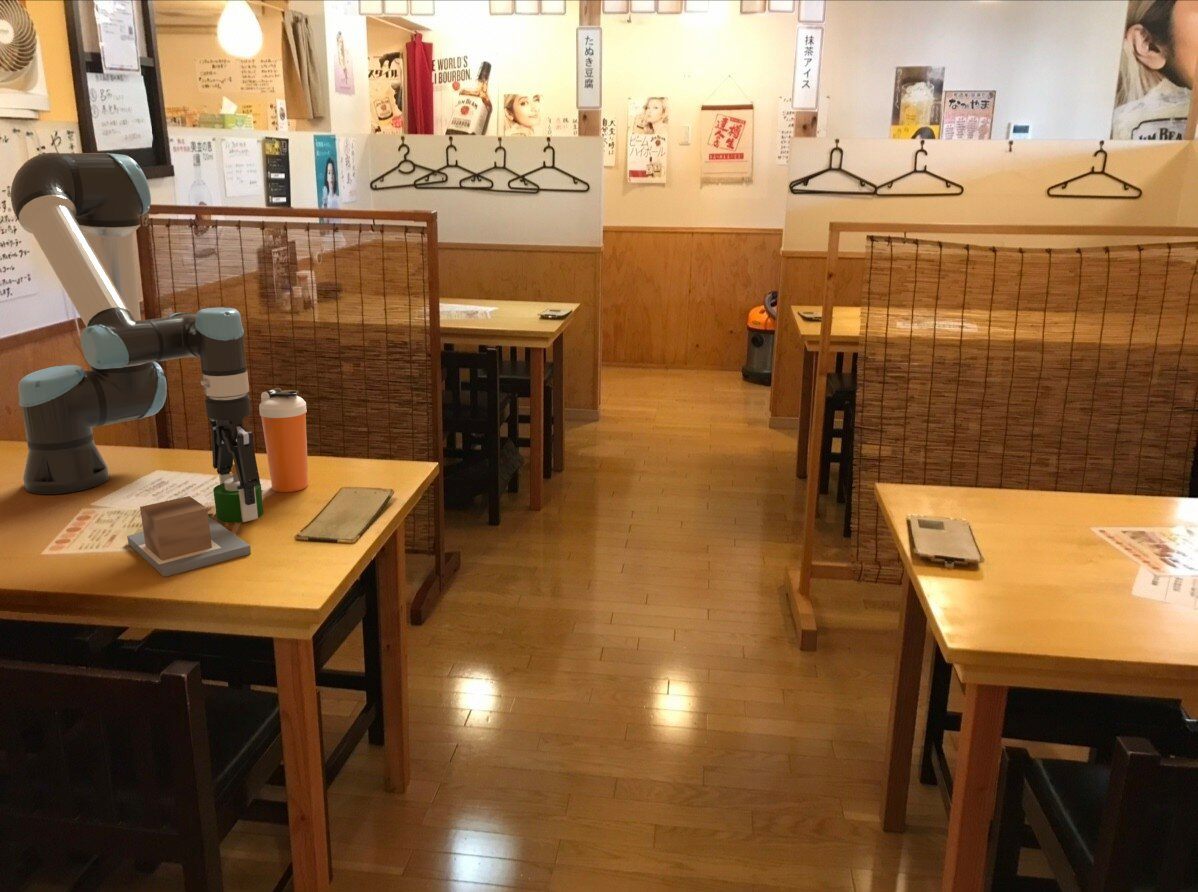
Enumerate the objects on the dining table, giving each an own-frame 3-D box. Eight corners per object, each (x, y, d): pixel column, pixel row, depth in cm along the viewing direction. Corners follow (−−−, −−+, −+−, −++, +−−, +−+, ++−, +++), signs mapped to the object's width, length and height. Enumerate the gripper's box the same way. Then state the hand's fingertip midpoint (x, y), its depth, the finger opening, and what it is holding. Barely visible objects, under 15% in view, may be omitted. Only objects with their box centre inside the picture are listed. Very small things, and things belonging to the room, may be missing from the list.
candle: (273, 512, 176) (268, 462, 173) (235, 526, 169) (229, 474, 166) (245, 504, 180) (239, 454, 177) (207, 517, 173) (200, 465, 170)
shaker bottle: (299, 495, 185) (290, 397, 179) (258, 492, 186) (248, 394, 181) (321, 481, 193) (313, 387, 187) (281, 478, 195) (272, 384, 189)
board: (128, 543, 161) (126, 535, 160) (210, 524, 170) (209, 515, 169) (164, 577, 148) (163, 567, 148) (250, 553, 157) (249, 544, 157)
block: (145, 546, 156) (139, 506, 154) (194, 534, 161) (189, 495, 159) (162, 560, 150) (156, 520, 148) (212, 547, 155) (207, 508, 153)
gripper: (184, 388, 173) (198, 503, 179) (229, 409, 158) (243, 534, 164) (224, 382, 178) (237, 494, 184) (272, 402, 163) (284, 523, 169)
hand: (240, 513), depth 174 cm, fingers closed on candle, 8 cm apart
